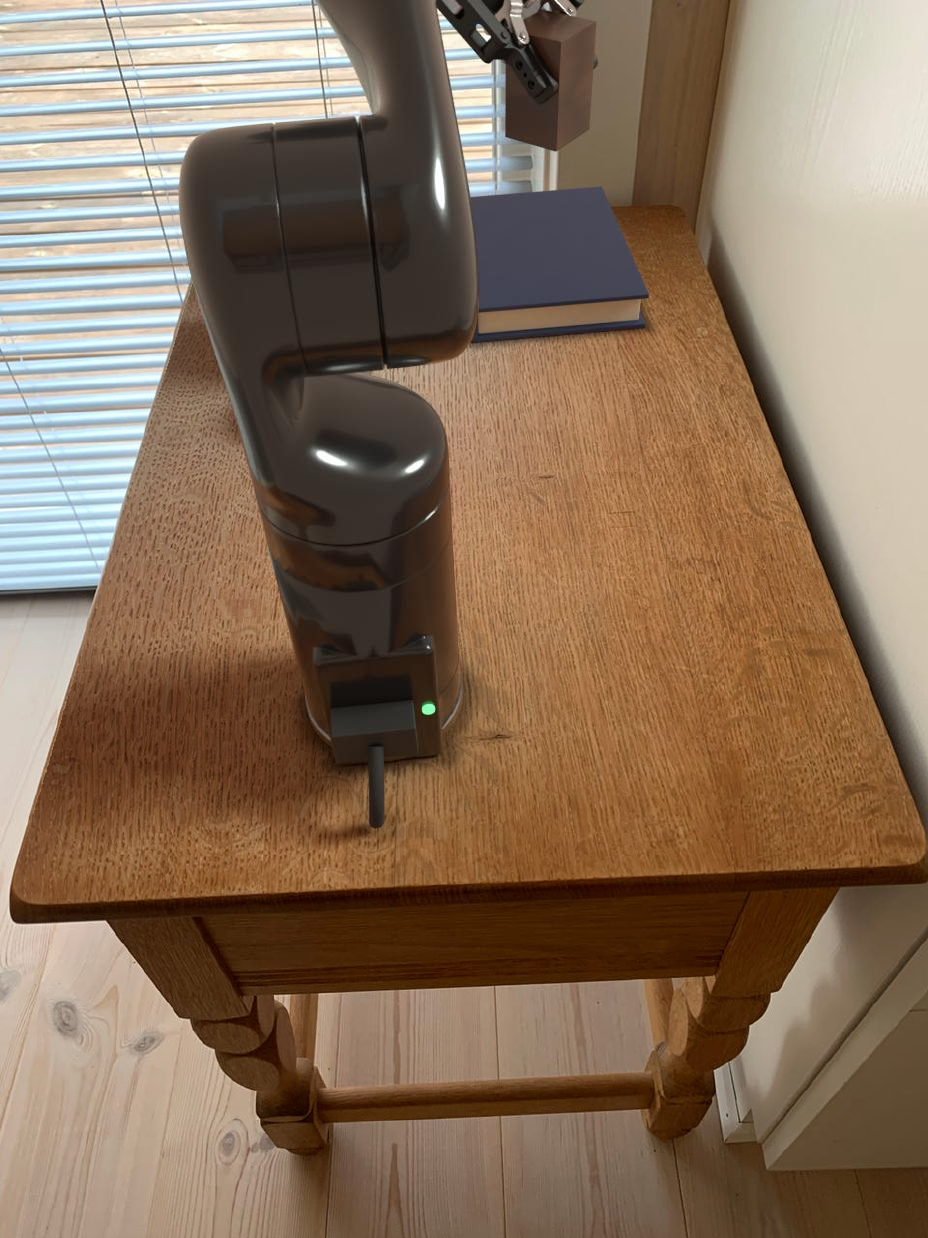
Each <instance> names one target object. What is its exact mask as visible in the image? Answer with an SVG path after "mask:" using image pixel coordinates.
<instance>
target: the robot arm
mask: <svg viewBox="0 0 928 1238" xmlns="http://www.w3.org/2000/svg"><path fill="white" fill-rule="evenodd" d="M313 1H314V3H315V4H316V6H317V7H318V8H319V10H320V12H321V13H322V14H323V16H324V18H325V19H326V21H327V22H328V24H329V26H330V28H331V29H332V30H333V32H334V33H335V35H336V37H337V39H338V41H339V42H340V45H341V46H342V48H343V50H344V52H345V53H346V56H347V58H348V59H349V62H350V64H351V65H352V68H353V70H354V73H355V74H356V77H357V79H358V81H359V84H360V86H361V88H362V91H363V93H364V96H365V98H366V101H367V104H368V107H369V110H370V113H371V114H361V115H359V116H358V121H357V117H356V116H354V115H350V116H339V117H338V116H337V117H326V118H325V117H324V118H313V119H303V120H302V119H301V120H289V121H279V122H275V123H272V122H266V123H265V122H264V123H255V124H245V125H244V124H243V125H235V126H226V127H219V128H215V129H210V130H207V131H204V132H202V133H201V134H198V135H197V136H196V137H194V139H193V140H192V141H191V142H190V143H189V145H188V147H187V149H186V152H185V154H184V156H183V158H182V161H181V166H180V171H179V179H178V180H179V181H178V213H179V223H180V229H181V235H182V240H183V246H184V251H185V255H186V262H187V266H188V271H189V275H190V277H191V281H192V285H193V288H194V291H195V295H196V299H197V302H198V306H199V309H200V312H201V316H202V319H203V322H204V325H205V328H206V331H207V334H208V337H209V340H210V344H211V347H212V349H213V353H214V356H215V359H216V361H217V364H218V368H219V370H220V374H221V377H222V379H223V383H224V385H225V389H226V392H227V395H228V399H229V402H230V405H231V406H230V407H231V409H232V412H233V415H234V418H235V423H236V426H237V429H238V434H239V438H240V441H241V445H242V449H243V453H244V456H245V460H246V464H247V467H248V471H249V474H250V478H251V482H252V486H253V491H254V494H255V500H256V503H257V507H258V511H259V515H260V519H261V522H262V527H263V531H264V535H265V540H266V543H267V548H268V553H269V556H270V560H271V564H272V569H273V572H274V576H275V580H276V584H277V588H278V591H279V596H280V600H281V604H282V605H281V606H282V609H283V612H284V617H285V620H286V624H287V629H288V632H289V636H290V641H291V644H292V645H291V646H292V648H293V652H294V656H295V660H296V664H297V669H298V672H299V677H300V680H301V684H302V688H303V690H304V691H303V692H304V699H305V707H306V710H307V714H308V718H309V721H310V724H311V726H312V728H313V730H314V732H316V734H317V735H318V737H319V738H320V739H321V740H322V742H324V743H325V744H326V745H328V746H329V747H330V748H332V752H333V756H334V757H333V758H334V761H335V764H336V765H337V766H346V765H347V766H348V765H355V764H357V765H358V764H366V763H367V764H368V765H367V766H368V824H369V826H370V827H371V828H372V829H381V828H382V827H383V826H384V825H385V762H391V761H398V760H403V759H411V758H412V759H413V758H420V757H421V758H422V757H431V756H438V755H441V754H442V753H443V751H444V746H443V745H444V744H443V739H444V737H445V736H446V735H447V734H448V733H449V731H450V730H451V729H452V728H453V726H454V725H455V723H456V721H457V719H458V717H459V715H460V712H461V709H462V706H463V699H464V685H463V676H462V672H461V661H460V647H459V630H458V629H459V627H458V609H457V592H456V573H455V571H456V570H455V552H454V536H453V535H454V532H453V512H452V509H453V508H452V491H451V490H452V489H451V488H452V487H451V466H450V450H449V442H448V435H447V432H446V429H445V426H444V424H443V421H442V419H441V417H440V415H439V413H438V411H437V410H435V408H434V407H433V405H431V403H429V402H428V401H427V400H426V399H425V398H424V397H423V396H421V395H419V394H418V393H417V392H416V391H414V390H412V389H410V388H408V387H407V386H404V385H402V384H400V383H398V382H395V381H392V380H389V379H388V378H387V379H386V378H383V377H380V376H375V375H371V374H369V373H368V372H376V371H377V372H378V371H384V369H385V367H386V369H387V370H393V369H395V370H396V369H403V368H411V367H412V368H414V367H421V366H428V365H429V366H430V365H436V364H440V363H445V362H448V361H453V360H454V359H456V358H458V357H460V356H461V355H462V354H463V353H464V352H465V351H466V350H467V349H468V347H469V346H470V343H471V340H472V337H473V334H474V331H475V328H476V323H477V318H478V310H479V296H480V283H479V259H478V249H477V239H476V230H475V222H474V216H473V209H472V203H471V197H472V196H471V192H470V185H469V177H468V174H467V173H468V172H467V166H466V160H465V155H464V150H463V145H462V137H461V134H460V129H459V122H458V117H457V112H456V106H455V101H454V95H453V89H452V83H451V78H450V74H449V68H448V62H447V56H446V52H445V51H446V50H445V45H444V40H443V35H442V34H443V33H442V29H441V24H440V19H439V18H440V17H439V13H438V11H439V12H440V13H441V15H442V16H443V17H444V18H445V20H447V22H448V24H450V25H451V27H452V28H453V29H454V30H455V31H456V33H458V34H459V36H460V37H461V38H462V39H463V40H464V41H465V43H466V44H467V45H468V46H469V47H470V48H471V50H472V51H473V52H474V53H475V54H476V55H477V57H478V58H479V59H480V60H481V61H482V62H483V63H485V64H486V65H489V64H491V63H493V61H500V62H501V63H503V64H504V65H505V64H509V65H510V66H511V68H512V69H513V71H514V72H515V74H516V76H517V77H518V79H519V80H520V82H521V83H522V85H523V87H525V90H526V91H527V93H528V94H529V95H530V96H531V97H532V98H533V99H534V101H535V102H536V103H537V104H542V103H544V102H546V101H547V100H548V99H549V98H550V97H551V96H552V95H553V94H554V93H555V92H556V91H557V90H558V87H559V85H558V82H557V80H556V79H555V77H554V76H553V74H552V72H551V71H550V69H549V68H548V66H547V64H546V63H545V61H544V59H543V58H542V56H541V55H540V53H539V51H538V50H537V48H536V47H535V45H534V43H531V44H530V45H528V43H529V35H528V32H527V30H526V27H525V24H524V21H523V19H525V18H527V17H529V16H531V15H533V14H535V13H537V12H538V11H540V10H542V9H543V10H547V9H546V8H545V5H546V4H548V5H549V7H550V11H552V12H556V13H561V14H565V15H570V16H574V17H577V14H578V10H579V8H580V7H581V6H582V5H583V4H584V3H585V0H313ZM477 25H479V26H481V27H482V28H483V31H484V33H485V35H486V36H490V37H489V39H488V40H486V39H485V38H484V36H483V35H482V34H481V33H480V32H479V30H478V29H477ZM507 28H510V31H511V32H508V31H507V30H506V29H507ZM598 65H599V59H598V57H597V55H596V53H594V68H593V71H594V70H595V69H596V68H597V67H598ZM366 372H367V373H366Z"/></svg>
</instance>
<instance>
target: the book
mask: <svg viewBox="0 0 928 1238" xmlns="http://www.w3.org/2000/svg"><path fill="white" fill-rule="evenodd" d="M470 197H471V203H472V209H473V216H474V222H475V230H476V239H477V249H478V259H479V283H480V296H479V310H478V318H477V323H476V328H475V331H474V334H473V337H472V340H471V342H470V343H473V344H474V343H481V342H482V343H483V342H484V343H485V342H495V341H496V342H497V341H509V340H517V339H518V340H519V339H530V338H531V339H532V338H540V337H541V338H542V337H553V336H563V335H564V336H565V335H575V334H576V335H577V334H587V333H598V332H599V333H601V332H610V331H621V330H634V329H645V328H646V325H647V324H646V321H645V319H644V316H643V314H642V311H641V309H640V308H641V301H642V300H645V299H650V293H649V290H648V287H647V285H646V283H645V282H644V278H643V277H642V275H641V272H640V270H639V268H638V265H637V264H636V261H635V259H634V257H633V254H632V252H631V250H630V248H629V245H628V243H627V241H626V238H625V236H624V234H623V232H622V229H621V227H620V225H619V222H618V220H617V217H616V216H615V213H614V212H613V209H612V207H611V205H610V202H609V200H608V198H607V194H606V193H605V190H604V189H603V186H590V187H578V188H564V189H552V190H541V191H529V192H528V191H527V192H516V193H515V192H513V193H501V194H490V195H476V196H470Z"/></svg>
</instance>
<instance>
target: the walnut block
mask: <svg viewBox="0 0 928 1238" xmlns="http://www.w3.org/2000/svg"><path fill="white" fill-rule="evenodd" d="M523 21H524V24H525V27H526V30H527V32H528V35H529V43H528V45H530V44H531V43H534V45H535V47H536V48H537V50H538V51H539V53H540V55H541V56H542V58H543V59H544V61H545V63H546V64H547V66H548V68H549V69H550V71H551V72H552V74H553V76H554V77H555V79H556V80H557V82H558V85H559V87H558V90H557V91H556V92H555V93H554V94H553V95H552V96H551V97H550V98H549V99H548V100H547V101H546V102H544V103H542V104H537V103H536V102H535V101H534V99H533V98H532V97H531V96H530V95H529V94H528V93H527V91H526V90H525V87H523V85H522V83H521V82H520V80H519V79H518V77H517V76H516V74H515V72H514V71H513V69H512V68H511V66H510V65H509V64H505V63H504V65H505V67H504V69H505V70H504V71H505V72H504V73H505V78H504V79H505V82H504V83H505V84H504V86H505V88H504V89H505V92H504V93H505V95H504V98H505V99H504V103H505V104H504V107H505V108H504V112H505V113H504V137H505V138H507V139H511V140H514V141H517V142H521V143H525V144H528V145H531V146H535V147H539V148H541V149H545V150H549V151H552V152H556V153H557V152H558V151H560V150H561V149H563V148H564V147H566V146H567V145H569V144H570V143H571V142H574V140H576V139H577V138H579V137H580V136H582V135H583V134H585V133H586V132H588V131H589V130H590V126H591V112H592V111H591V110H592V96H593V81H594V80H593V78H594V70H593V68H594V53H595V52H596V36H597V35H596V34H597V21H596V20H591V19H587V18H583V17H578V16H576V17H574V16H570V15H565V14H561V13H556V12H552V10H547V9H546V10H543V9H542V10H540V11H538V12H537V13H535V14H533V15H531V16H529V17H527V18H525V17H524V18H523ZM506 30H507V31H508V32H511V31H510V28H509V27H508V28H507V29H506ZM595 54H596V53H595Z"/></svg>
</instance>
